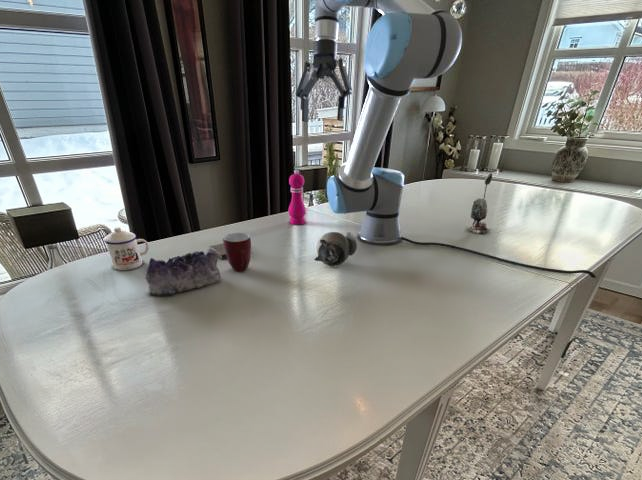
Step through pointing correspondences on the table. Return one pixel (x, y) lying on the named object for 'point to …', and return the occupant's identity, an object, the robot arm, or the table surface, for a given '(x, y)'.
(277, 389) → the table surface
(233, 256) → the mug
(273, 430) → the table surface
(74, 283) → the table surface
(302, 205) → the pepper mill
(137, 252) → the teacup with lid
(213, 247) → the grey angular chunk
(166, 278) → the geode
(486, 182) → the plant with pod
